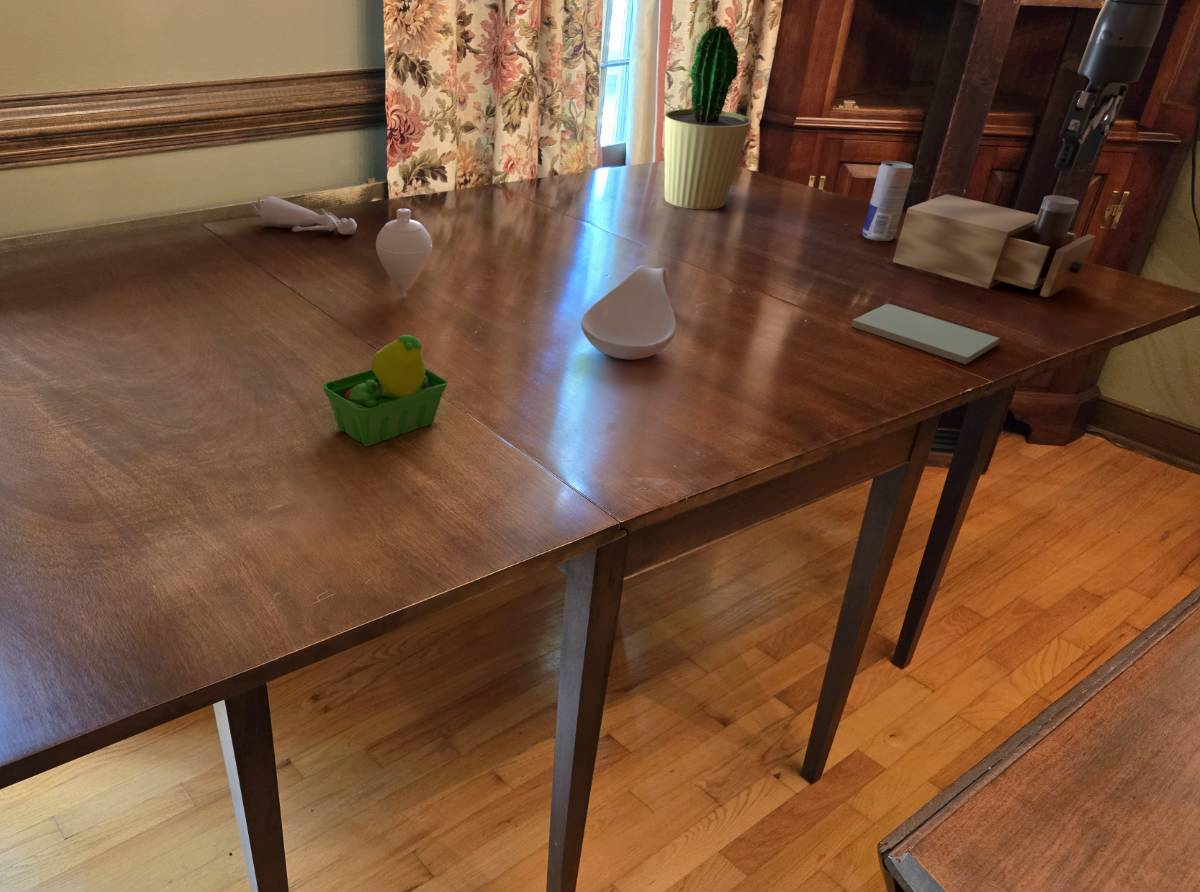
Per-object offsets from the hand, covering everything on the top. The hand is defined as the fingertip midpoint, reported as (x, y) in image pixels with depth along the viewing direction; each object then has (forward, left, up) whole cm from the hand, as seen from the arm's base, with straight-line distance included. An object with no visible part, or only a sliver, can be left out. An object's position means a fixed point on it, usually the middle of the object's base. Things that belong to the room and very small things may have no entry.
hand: (1073, 166), depth 138 cm
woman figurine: (+89, +72, -18) cm, 116 cm away
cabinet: (+11, 0, -18) cm, 21 cm away
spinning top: (+55, +79, -18) cm, 98 cm away
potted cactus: (+60, +4, -18) cm, 63 cm away
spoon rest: (+26, +64, -18) cm, 71 cm away
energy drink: (+27, -4, -18) cm, 33 cm away
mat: (+1, +33, -18) cm, 37 cm away
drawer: (+2, 0, -17) cm, 17 cm away
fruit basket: (+26, +105, -18) cm, 110 cm away
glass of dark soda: (0, 0, -16) cm, 16 cm away
